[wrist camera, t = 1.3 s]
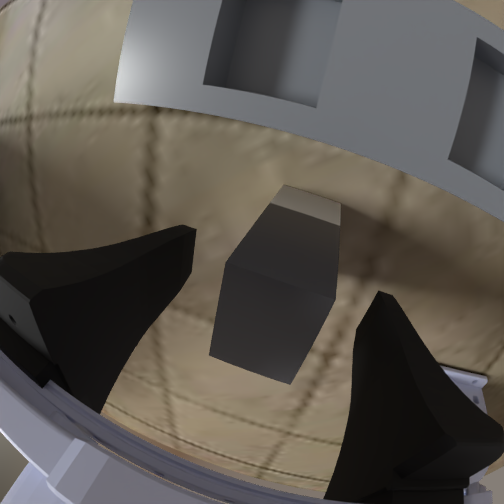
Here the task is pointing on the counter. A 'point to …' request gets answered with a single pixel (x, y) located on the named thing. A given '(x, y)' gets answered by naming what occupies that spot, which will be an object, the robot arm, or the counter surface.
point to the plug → (279, 286)
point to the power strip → (336, 78)
